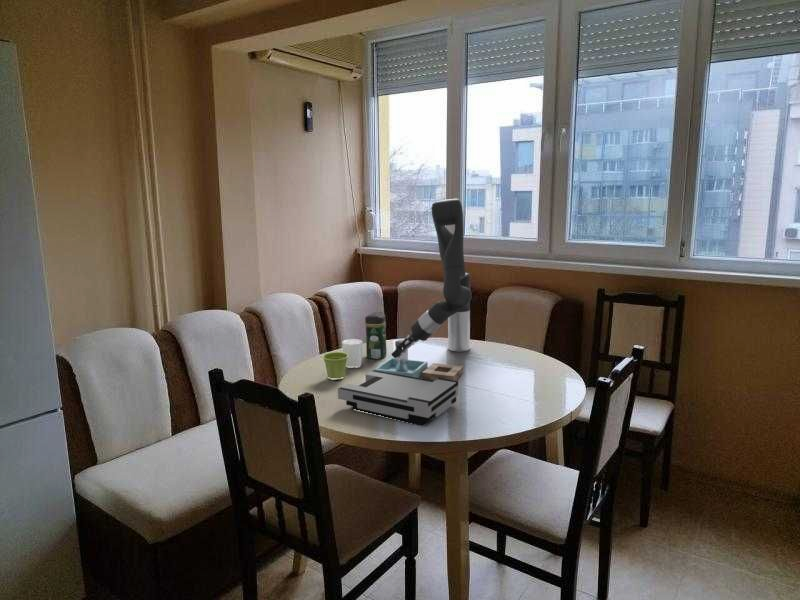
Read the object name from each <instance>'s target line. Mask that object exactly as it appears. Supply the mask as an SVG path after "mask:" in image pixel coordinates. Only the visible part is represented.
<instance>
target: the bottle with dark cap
mask: <svg viewBox="0 0 800 600" xmlns="http://www.w3.org/2000/svg"><path fill="white" fill-rule="evenodd" d="M403 340H404V339H403ZM403 340H401V339H400V340H396V341H395V343H394V345H395V349H396V348H397V346H399V345H400V344H401V342H402V341H403ZM401 348H402V349H403V347H402V346H401ZM408 351H409V348H408V349H405V350H404V351H403V352H402V353H401V354H400V355H399V356H398V357H396V371H400V372H408V360H409V359H408V356H409V353H408Z"/></svg>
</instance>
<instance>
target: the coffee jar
mask: <svg viewBox="0 0 800 600" xmlns="http://www.w3.org/2000/svg"><path fill="white" fill-rule="evenodd" d="M364 320H365V323H364V324H365V340H366V342H365V343H366V345H365V347H366V349H365V350H366V353H365V354H366V358H367V357H370V358H369V359H371V358H380V359H384V358H385V357H386V355H387V351H388V350H387V333H386V332H387V331H386V330H387V329H386V323H387V322H386V314H385V313H384V312H382V311H372V312H371V313H369V314H367V315H366V316H365V318H364ZM384 356H385V357H384Z"/></svg>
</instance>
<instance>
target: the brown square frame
mask: <svg viewBox="0 0 800 600" xmlns="http://www.w3.org/2000/svg"><path fill="white" fill-rule="evenodd" d="M463 374H464V366H463V365H455V364H454V365H453V364H443V363H435V362H433V363H431V364H430V365H429V366H428V368H427V369H426V370H424V371H423V372H422V377H421V378H422V379H427V380H433V381H435V380H437V379H438V378H442V379H448V380H454V381H458V379H459V378H460V377H461V376H462V375H463Z"/></svg>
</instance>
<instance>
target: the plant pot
mask: <svg viewBox="0 0 800 600" xmlns="http://www.w3.org/2000/svg"><path fill="white" fill-rule="evenodd" d="M347 358H348V354H346V353H343V351H341V352H340V351H334V352H333V351H332V352H328V353H325V354H323V355H322V359H323V361H324V363H325V369H326V374H327V378H328V377H330V378H341V377H344V376H345V377H346V369H347V368H346V361H347ZM345 377H344V378H345Z"/></svg>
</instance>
